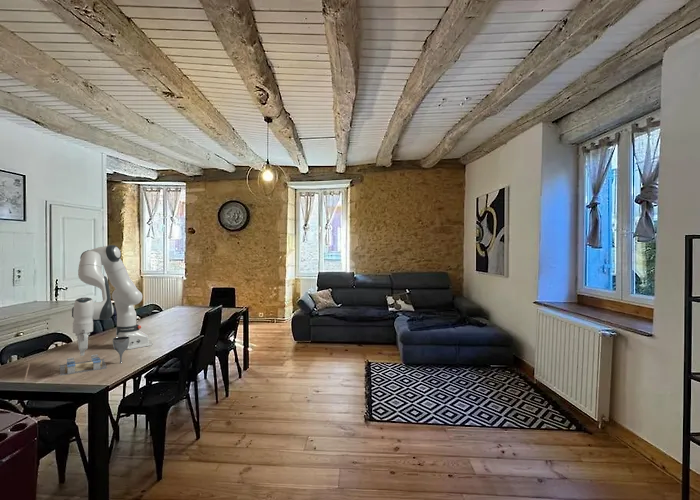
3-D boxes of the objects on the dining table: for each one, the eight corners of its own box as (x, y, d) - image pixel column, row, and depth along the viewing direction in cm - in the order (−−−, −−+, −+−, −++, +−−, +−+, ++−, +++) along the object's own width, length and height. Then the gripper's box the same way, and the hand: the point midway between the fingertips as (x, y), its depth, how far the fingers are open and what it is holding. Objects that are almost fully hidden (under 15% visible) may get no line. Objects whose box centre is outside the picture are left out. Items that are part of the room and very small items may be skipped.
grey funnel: (132, 363, 212) (132, 337, 212) (119, 367, 205) (119, 340, 205) (121, 361, 215) (122, 335, 215) (109, 365, 208) (109, 339, 208)
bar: (101, 365, 204) (101, 360, 204) (102, 367, 202) (102, 361, 202) (64, 371, 195) (64, 365, 195) (64, 373, 192) (64, 367, 192)
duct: (103, 360, 217) (103, 351, 217) (107, 370, 201) (107, 360, 201) (59, 366, 205) (60, 357, 205) (60, 377, 188) (60, 367, 188)
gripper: (91, 331, 192) (90, 358, 192) (89, 325, 208) (88, 349, 208) (76, 332, 188) (75, 360, 188) (75, 326, 204) (74, 351, 204)
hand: (82, 354), depth 198 cm, fingers closed
